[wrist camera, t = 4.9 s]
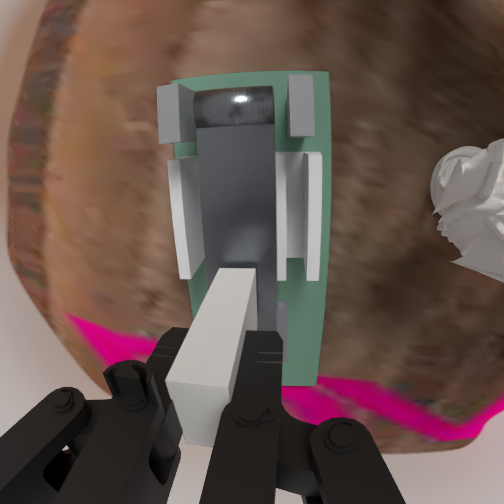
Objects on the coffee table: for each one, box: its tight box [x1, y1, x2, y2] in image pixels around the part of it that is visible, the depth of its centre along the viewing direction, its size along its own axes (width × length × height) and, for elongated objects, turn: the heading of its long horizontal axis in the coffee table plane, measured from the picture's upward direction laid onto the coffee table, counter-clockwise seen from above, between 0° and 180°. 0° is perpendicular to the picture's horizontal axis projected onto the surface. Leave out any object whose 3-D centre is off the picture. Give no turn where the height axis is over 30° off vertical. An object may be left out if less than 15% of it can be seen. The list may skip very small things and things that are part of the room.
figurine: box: [430, 139, 504, 283], centre depth 11 cm, size 11×8×12 cm
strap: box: [193, 86, 288, 363], centre depth 13 cm, size 12×4×2 cm, turn 2°
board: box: [157, 71, 331, 386], centre depth 16 cm, size 22×9×7 cm, turn 2°
